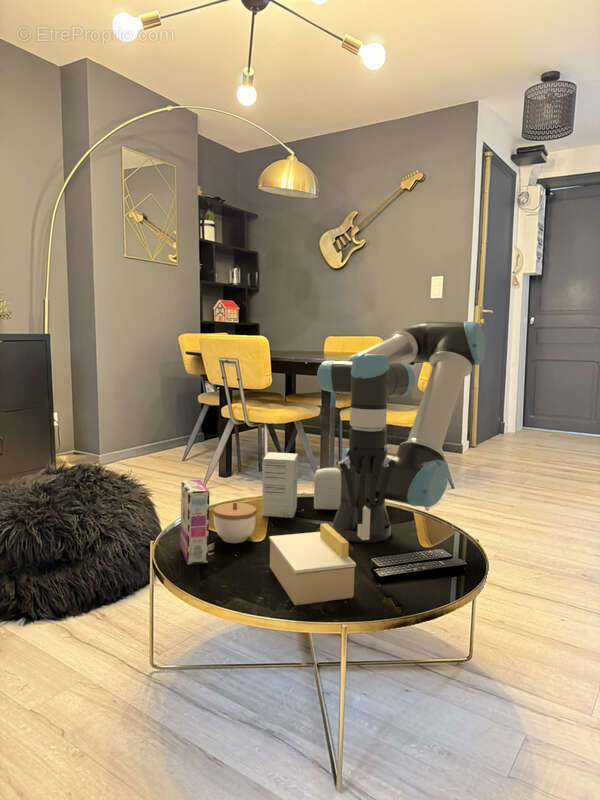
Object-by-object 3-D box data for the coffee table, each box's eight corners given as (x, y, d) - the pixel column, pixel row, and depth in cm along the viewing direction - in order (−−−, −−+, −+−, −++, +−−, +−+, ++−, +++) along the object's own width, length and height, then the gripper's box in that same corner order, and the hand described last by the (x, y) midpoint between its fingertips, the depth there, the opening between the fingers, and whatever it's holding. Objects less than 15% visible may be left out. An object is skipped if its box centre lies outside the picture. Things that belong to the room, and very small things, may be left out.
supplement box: (266, 506, 161) (267, 451, 160) (297, 508, 160) (298, 453, 159) (261, 516, 152) (262, 458, 150) (293, 518, 151) (294, 459, 149)
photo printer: (313, 509, 159) (314, 469, 158) (313, 505, 163) (314, 466, 162) (348, 511, 159) (349, 470, 158) (347, 506, 163) (348, 467, 162)
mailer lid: (322, 534, 120) (322, 518, 120) (355, 566, 103) (356, 548, 103) (269, 539, 116) (269, 523, 116) (294, 573, 99) (295, 554, 99)
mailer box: (320, 561, 121) (321, 535, 120) (353, 597, 104) (354, 567, 103) (269, 567, 117) (270, 540, 116) (294, 605, 100) (295, 574, 99)
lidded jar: (217, 548, 127) (217, 510, 126) (209, 533, 137) (210, 497, 136) (260, 544, 130) (261, 506, 129) (250, 529, 140) (250, 495, 140)
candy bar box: (209, 563, 118) (210, 491, 117) (187, 565, 117) (187, 492, 115) (200, 545, 129) (201, 478, 127) (179, 547, 127) (180, 480, 125)
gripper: (387, 424, 117) (382, 529, 119) (331, 426, 113) (328, 534, 115) (404, 430, 110) (399, 541, 112) (345, 431, 105) (341, 546, 108)
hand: (363, 537), depth 113 cm, fingers closed
